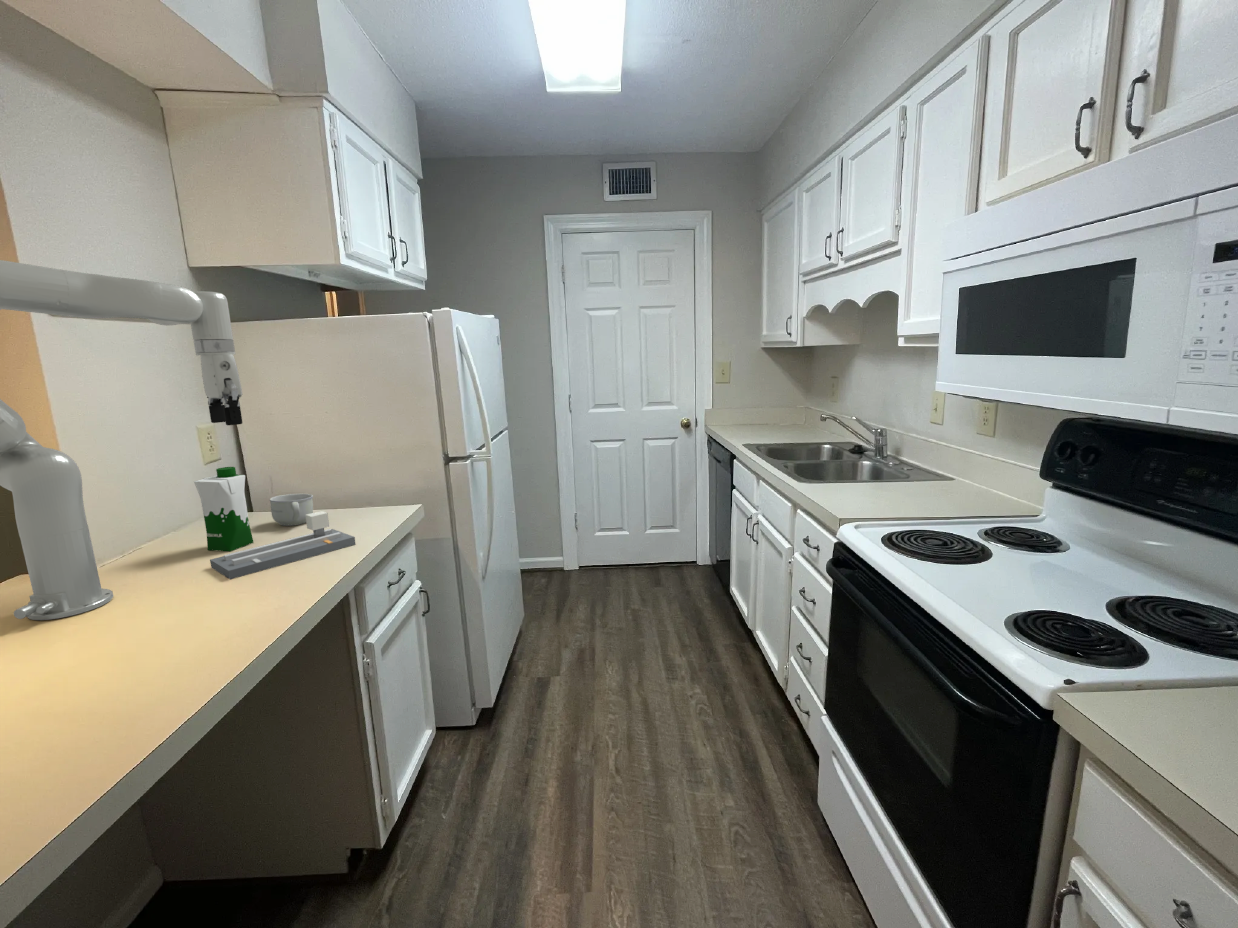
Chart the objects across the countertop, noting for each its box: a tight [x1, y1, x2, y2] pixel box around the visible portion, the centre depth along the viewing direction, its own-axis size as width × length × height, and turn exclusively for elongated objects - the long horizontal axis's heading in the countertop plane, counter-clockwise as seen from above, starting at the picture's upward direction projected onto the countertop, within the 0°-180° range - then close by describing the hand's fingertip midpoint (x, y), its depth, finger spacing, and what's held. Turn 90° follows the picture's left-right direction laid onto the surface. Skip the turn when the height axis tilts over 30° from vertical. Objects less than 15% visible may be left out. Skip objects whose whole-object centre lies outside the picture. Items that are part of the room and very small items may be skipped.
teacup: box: [269, 493, 314, 527], centre depth 167 cm, size 14×11×8 cm
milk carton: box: [193, 466, 254, 553], centre depth 148 cm, size 9×9×20 cm
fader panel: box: [209, 528, 356, 580], centre depth 141 cm, size 28×12×3 cm, turn 141°
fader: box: [306, 510, 330, 538], centre depth 147 cm, size 4×3×6 cm
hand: (226, 423), depth 136 cm, fingers open, 9 cm apart
